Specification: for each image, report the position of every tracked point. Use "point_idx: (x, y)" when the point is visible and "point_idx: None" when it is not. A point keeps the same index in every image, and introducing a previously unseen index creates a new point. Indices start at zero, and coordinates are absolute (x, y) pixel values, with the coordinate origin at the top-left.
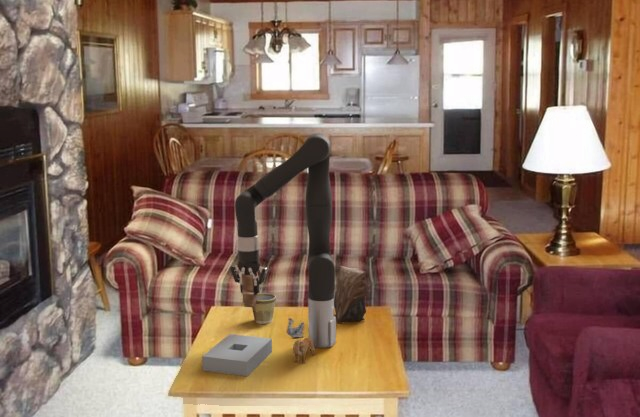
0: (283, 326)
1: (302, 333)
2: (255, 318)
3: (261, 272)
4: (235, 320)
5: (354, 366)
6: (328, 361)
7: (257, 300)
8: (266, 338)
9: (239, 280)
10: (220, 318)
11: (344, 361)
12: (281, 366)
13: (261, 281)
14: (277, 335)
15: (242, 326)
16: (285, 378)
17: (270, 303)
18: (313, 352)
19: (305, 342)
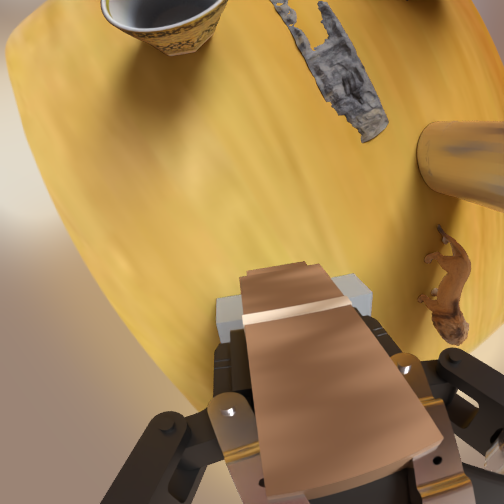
0: (279, 44)
1: (380, 102)
2: (157, 48)
3: (494, 460)
4: (85, 77)
5: (498, 257)
6: (469, 259)
7: (319, 264)
8: (356, 300)
9: (217, 457)
10: (39, 95)
11: (488, 244)
12: (396, 331)
13: (452, 406)
14: (307, 132)
15: (136, 108)
16: None
17: (225, 3)
18: (447, 241)
19: (461, 291)
